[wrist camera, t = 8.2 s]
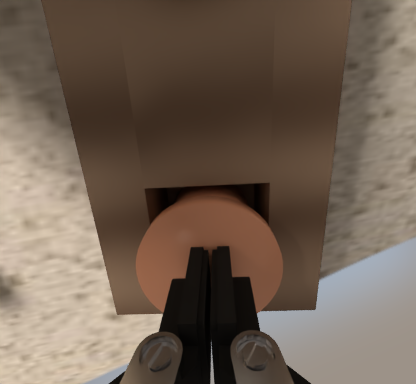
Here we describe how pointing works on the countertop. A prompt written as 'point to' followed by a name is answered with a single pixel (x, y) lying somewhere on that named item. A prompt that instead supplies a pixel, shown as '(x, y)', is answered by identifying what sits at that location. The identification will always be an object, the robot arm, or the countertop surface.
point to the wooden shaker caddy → (204, 119)
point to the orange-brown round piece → (209, 242)
